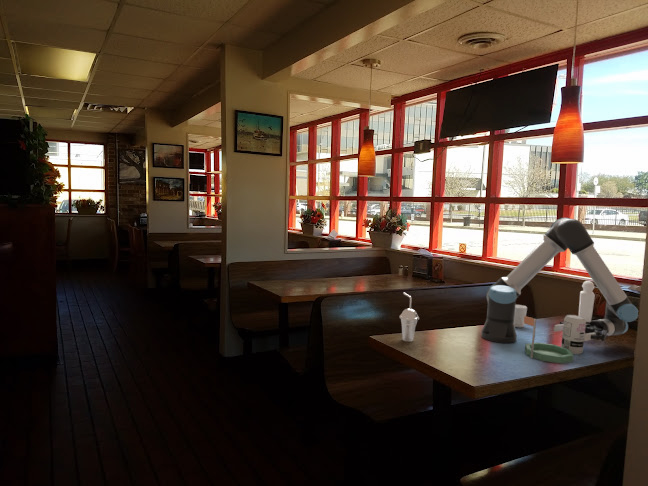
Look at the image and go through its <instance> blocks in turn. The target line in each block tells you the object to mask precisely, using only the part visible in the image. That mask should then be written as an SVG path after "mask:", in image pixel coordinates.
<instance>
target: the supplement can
mask: <svg viewBox="0 0 648 486" xmlns="http://www.w3.org/2000/svg"><path fill="white" fill-rule="evenodd" d="M563 322H564V325H563V331H562V334H561V335H562V337H561V346H560V347H563V348H566V349H569V350H570V351H571V352H572V354H573V355H581V354H582V353H584V344H585V341H584V334H586V333H585V326H586V324H587V322H586V321H585V318H584V317H581V316H579V315H576V314H566V315H565V317H564V318H563Z"/></svg>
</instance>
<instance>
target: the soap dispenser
mask: <svg viewBox="0 0 648 486" xmlns="http://www.w3.org/2000/svg"><path fill="white" fill-rule="evenodd" d="M581 287H582V290H581V291H580V292H579V303H578V304H579V306H578V316H581V317H584V318H585V321H586V323H589V322H591V321H592V318H593V310H594V305H595V304H594V303H595V298H596V294H595V293H594V292H593V290H594V289H595V283H594V281H591V280H585V281H584V282H583V283H582V285H581Z"/></svg>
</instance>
